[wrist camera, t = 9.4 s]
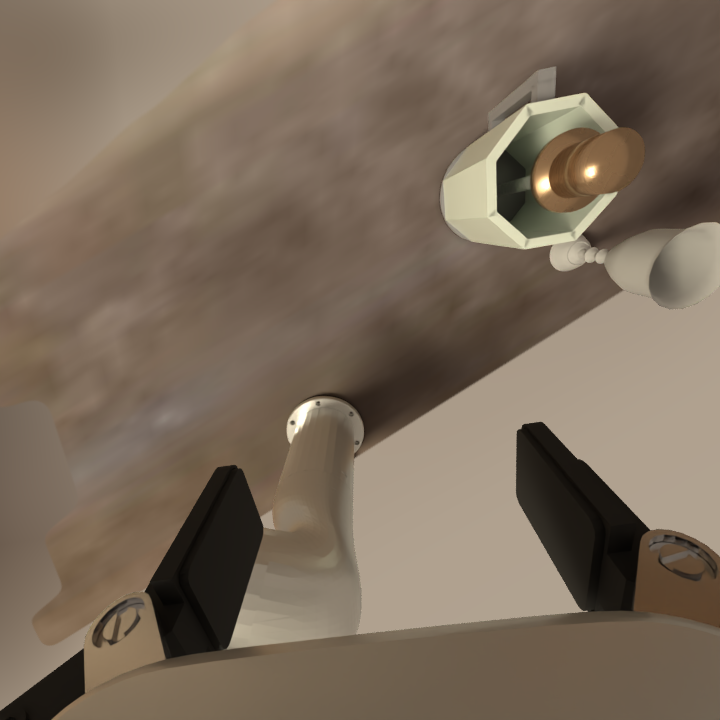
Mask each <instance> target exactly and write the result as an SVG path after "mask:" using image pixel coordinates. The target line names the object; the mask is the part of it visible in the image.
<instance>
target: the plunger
mask: <svg viewBox="0 0 720 720" xmlns="http://www.w3.org/2000/svg"><path fill="white" fill-rule="evenodd" d="M644 157H645V146H644V142H643V139H642V138H641V136H640V135H639V134H638V133H637V132H636V131H635V130H633V129H631V128H626V127H621V128H616V129H613V130H610V131H607V132H605V133H602V134H600V133H599V132H597V131H596V130H593V129H590V128H583V127H581V128H574V129H570V130H568V131H566V132H563V133H561V134H559V135H557V136H556V137H554V138H553V139H551V140H550V141H549V142H548V143H547V144H545V146H544V147H543V148H542V149H541V151H540V152H539V153H538V155H537V157H536V159H535V161H534V163H533V166H532V170H531V175H530V176H526V177H523V178H520V179H516V180H513V181H509V182H506V183H502V184H499V185H496V188H497V196H502V195H507V194H511V193H516V192H521V191H526V190H531V192H532V195H533V197H534V199H535V201H536V202H537V203H538V204H539V205H540V206H541V207H542V208H543V209H545V210H547V211H550V212H553V213H568V212H573V211H577V210H579V209H582V208H584V207H585V206H587V205H588V204H590V203H591V202H592V201H593V200H594V199H595V198H596V197H597V196H598V195H600V194H608V193H614V192H617V191H620V190H621V189H623V188H625V187H626V186H628V185H629V184H630V183H631V182H632V181H633V180H634V179H635V177H636V176H637V175H638V173H639V171H640V169H641V167H642V165H643V162H644Z"/></svg>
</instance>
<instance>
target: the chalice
mask: <svg viewBox="0 0 720 720" xmlns="http://www.w3.org/2000/svg"><path fill="white" fill-rule="evenodd" d="M550 261H551V263H552V266H553V267H554V268H556V269H557V270H560V271H570V270H573V269H575V268H577V267H579V266H581V265H583V264H584V263H585V262H588V263H592V262H594V261H596V262H597V263H599V264H602V263H604V265H605V268H606V269H607V271H608V273H609V275H610V277H611V278H612V279H613V280H614V281H615V282H616V283H617V284H618V285H619V286H620V287H621V288H622V289H623V290H624V291H627V292H630V293H633V294H637V295H642V296H646V297H650V298H652V299H653V300H654V301H655V302H656V303H658V305H659V306H662V307H665V308H668V309H683V308H686V307H689V306H692V305H695V304H697V303H699V302H700V301H702V300H704V299H705V298H707V297H709V296H710V295H711V294H712V293H713V292H714V291H715V290H716V289H717V288H718V287H720V224H719V223H716V222H711V223H700V224H698V225H695V226H692V227H689V228H687V229H651V230H649V231H646V232H643V233H640V234H638V235H635V236H633V237H630V238H628V239H626V240H625V241H623V242H621V243H620V244H618V245H616V246H615V247H613V248H612V249H611V250H610V251H608V250H607V249H602V250H600V251H599V249H598V248H596V247H592V248H591V245H590V243H589V242H588V240H587V239H586V238H585V237H584V236H583V235H582V234H581V235H580V236H579V237H578V238H577V240H575V241H570V242H564V243H558V244H553V246H552V248H551V251H550Z"/></svg>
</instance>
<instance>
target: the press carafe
mask: <svg viewBox="0 0 720 720" xmlns="http://www.w3.org/2000/svg"><path fill="white" fill-rule="evenodd" d="M555 85H556V67H551V68H546V69H541V70H538V71H536V72H535V73H534V74H533V75H532V76H531V77H529V78H528V79H527V80H526V81H525V82H524V83H523V84H521V85H520V86H519V87H518V88H517V89H516V90H514V91H513V92H512V93H511V94H510V95H509V96H508V97H506V98H505V99H504V100H503V101H502V102H501V103H499V104H498V105H497V106H496V107H495V108H494V109H492V110H491V111H490V112H489V113H488V132H487V133H486V134H485V135H483V136H482V137H481V138H479V139H478V140H476V141H475V142H474V143H472V144H471V145H469V146H468V147H467V148H466V149H464V150H463V151H462V152H461V153H459V154H458V155H457V156H456V157H455V158H454V160H453V161H452V162H451V163H450V165H449V167H448V168H447V170H446V172H445V174H444V176H443V179H442V182H441V187H440V193H439V203H440V210H441V213H442V216H443V219H444V221H445V223H446V224H447V226H448V227H449V228H450V230H451V231H452V232H453V233H455V234H456V235H457V236H459V237H461V238H463V239H465V240H468V241H471V242H478V243H485V244H492V245H499V246H505V247H512V248H519V249H529V248H535V247H541V246H547V245H553V244H558V243H564V242H570V241H575V240H577V238H578V237H579V236H580V235H581V234H582V233H583V232H584V231H585V230H586V228H587V227H588V226H589V225H590V224H591V223H592V222H593V221H594V220H595V218H596V217H597V216H598V215H599V214H600V213H601V212H602V211H603V210H604V208H605V207H606V206H607V205H608V204H609V203H610V202H611V201H612V199H613V198H614V197H615V196H616V194H617V192H614V193H608V194H600V195H598V196H597V197H596V198H595V199H594V200H593V201H592V202H591V203H590V204H588V205H587V206H585V207H584V208H582V209H579V210H577V211H573V212H568V213H553V212H550V211H547V210H545V209H543V208H542V207H541V206H540V205H539V204H538V203H537V202H536V201H535V199H534V197H533V195H532V192H531V190H526V191H521V192H516V193H511V194H507V195H502V196H497V188H496V185H499V184H502V183H506V182H509V181H513V180H516V179H520V178H523V177H526V176H530V175H531V170H532V166H533V163H534V161H535V159H536V157H537V155H538V153H539V152H540V151H541V149H542V148H543V147H544V146H545V144H547V143H548V142H549V141H550V140H551V139H553V138H554V137H556V136H557V135H559V134H561V133H563V132H566V131H568V130H570V129H574V128H581V127H583V128H590V129H593V130H596V131H597V132H599V133H600V134H602V133H605V132H607V131H610V130H613V129H616V128H619V127H618V126H617V125H616V124H615V123H614V122H613V121H612V120H611V119H610V118H609V117H608V116H607V115H606V114H605V112H604V111H603V110H602V109H601V108H600V107H599V106H598V105H597V104H596V103H595V102H594V101H593V100H592V99H591V97H590V96H589V95H588V94H587V93H581V94H576V95H571V96H566V97H561V98H556V99H555ZM530 100H531V103H530V104H526V103H527V102H529V101H530ZM525 104H526V105H525ZM523 105H525V106H524V107H522V106H523ZM521 107H522V108H521ZM519 108H521V109H519ZM518 109H519V110H518ZM516 110H518V111H517V112H515V111H516ZM514 112H515V113H514ZM512 113H514V114H512ZM511 114H512V115H511ZM510 115H511V116H510ZM508 116H510V117H508ZM507 117H508V118H507ZM505 118H507V119H505Z"/></svg>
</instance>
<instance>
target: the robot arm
mask: <svg viewBox="0 0 720 720" xmlns="http://www.w3.org/2000/svg"><path fill="white" fill-rule="evenodd" d="M318 401H320V402H318ZM287 437H288V440H289V442H290V444H291V446H290V449H289V452H288V455H287V459H286V462H285V465H284V468H283V472H282V475H281V478H280V481H279V485H278V488H277V491H276V494H275V498H274V502H273V511H272V515H273V523H274V527H275V530H273V529H267V528H263V524H262V521H261V519H260V516H259V513H258V511H257V508H256V505H255V502H254V500H253V497H252V494H251V492H250V489H249V486H248V484H247V481H246V478H245V475H244V473H243V471H242V469H238V468H237V466H236V465H230V466H223V467H218V468H217V469H216V470H215V471H214V473H213V475H212V477H211V478H210V480H209V482H208V483H207V485H206V487H205V488H204V490H203V492H202V494H201V495H200V497H199V499H198V500H197V502H196V504H195V506H194V507H193V509H192V511H191V512H190V514H189V516H188V517H187V519H186V521H185V523H184V524H183V526H182V528H181V529H180V531H179V533H178V535H177V536H176V538H175V540H174V541H173V543H172V545H171V546H170V548H169V550H168V552H167V553H166V555H165V557H164V558H163V560H162V562H161V564H160V565H159V567H158V569H157V570H156V572H155V574H154V575H153V577H152V579H151V581H150V583H149V585H148V587H147V588H146V590H145V592H133V593H130V594H127V595H125V596H123V597H121V598H119V599H117V600H116V601H115V602H113V603H112V604H111V605H109V606H108V607H107V608H106V609H105V610H104V611H103V612H102V613H101V614H100V615H99V616H98V617H97V618H96V619H95V621H94V622H93V624H92V625H91V626H90V628H89V630H88V632H87V634H86V636H85V642H84V649H82V650H81V651H80V652H78V653H77V654H76V655H74V656H73V657H72V658H70V659H69V660H68V661H66V662H65V663H64V664H63V665H61V666H60V667H58V668H57V669H56V670H54V671H53V672H52V673H50V674H49V675H48V676H46V677H45V678H44V679H42V680H41V681H40V682H38V683H37V684H36V685H34V686H33V687H32V688H30V689H29V690H28V691H26V692H25V693H24V694H22V695H21V696H20V697H19V698H17V699H16V700H14V701H13V702H12V703H10V704H9V705H8V706H6V707H5V708H4V709H2V710H1V711H0V720H720V557H719V555H717V554H716V553H715V552H714V551H713V550H712V549H710V548H709V547H708V546H707V545H705V544H703V543H702V542H700V541H698V540H696V539H694V538H692V537H690V536H688V535H685V534H683V533H680V532H676V531H672V530H663V529H656V530H650V529H649V528H648V527H647V526H646V525H645V524H644V523H643V522H642V521H641V520H640V519H639V518H638V517H637V516H636V515H635V514H634V513H633V512H632V511H631V510H630V508H629V507H627V505H626V504H625V503H624V502H623V501H622V500H621V499H620V498H619V497H618V496H617V495H616V494H615V493H614V492H613V491H612V490H611V489H610V488H609V487H608V485H607V484H606V483H605V482H604V481H603V480H602V479H601V478H600V477H599V476H598V475H597V474H596V473H595V472H594V471H593V470H592V469H591V468H590V467H589V466H588V465H587V464H586V463H585V462H584V461H582V460H580V459H577V458H576V457H575V456H574V455H573V454H572V453H571V452H570V451H569V450H568V449H567V448H566V447H565V445H563V443H562V442H561V441H560V440H559V439H558V438H557V437H556V436H555V435H554V434H553V433H552V432H551V430H550V429H549V428H548V427H547V426H546V425H545V424H544V423H543V422H536V423H529V424H524V425H522V429H519V430H518V431H517V457H516V459H517V460H516V462H517V463H516V470H517V471H516V495H517V498H518V501H519V504H520V506H521V507H522V509H523V511H524V513H525V514H526V516H527V518H528V520H529V521H530V523H531V525H532V527H533V528H534V530H535V532H536V533H537V535H538V537H539V539H540V540H541V542H542V544H543V546H544V547H545V549H546V551H547V553H548V554H549V556H550V558H551V560H552V561H553V563H554V565H555V566H556V568H557V570H558V572H559V573H560V575H561V577H562V579H563V580H564V582H565V584H566V586H567V587H568V589H569V591H570V592H571V594H572V596H573V598H574V599H575V601H576V603H577V605H578V606H579V607H580V609H582V610H583V611H586V610H587V611H588V612H579V613H567V614H555V615H543V616H532V617H521V618H511V619H501V620H491V621H481V622H471V623H461V624H452V625H442V626H433V627H423V628H413V629H404V630H396V631H385V632H376V633H367V634H358V635H356V633H357V630H358V627H359V622H360V616H361V584H360V575H359V570H358V564H357V559H356V553H355V548H354V538H353V478H354V477H353V475H354V453H355V452H356V451H357V450H358V449H359V447H360V446H361V444H362V441H363V437H364V426H363V421H362V418H361V416H360V414H359V413H358V412H357V410H356V409H355V408H354V407H353V406H352V405H351V404H349V403H347V402H346V401H344V400H342V399H339V398H336V397H331V396H318V397H313V398H310V399H307V400H305V401H303V402H302V403H300V404H299V405H298V406H297V407H296V408H295V409H294V410H293V411H292V413H291V415H290V417H289V420H288V423H287Z"/></svg>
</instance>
